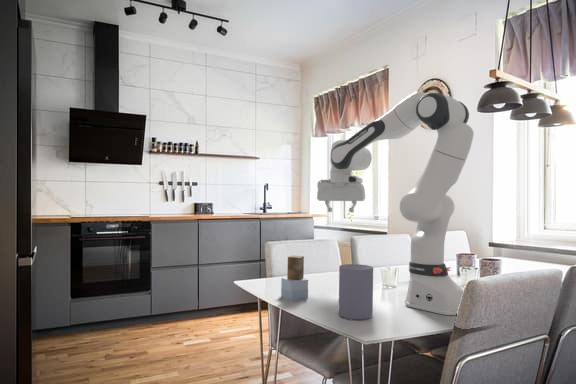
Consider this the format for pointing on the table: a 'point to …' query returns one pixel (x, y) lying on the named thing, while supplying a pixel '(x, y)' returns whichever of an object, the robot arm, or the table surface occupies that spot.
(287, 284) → the tower top
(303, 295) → the tower base
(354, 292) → the container
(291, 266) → the walnut block
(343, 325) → the table surface
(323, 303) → the table surface
